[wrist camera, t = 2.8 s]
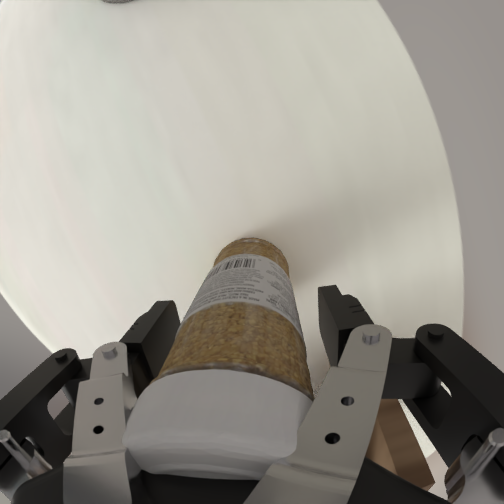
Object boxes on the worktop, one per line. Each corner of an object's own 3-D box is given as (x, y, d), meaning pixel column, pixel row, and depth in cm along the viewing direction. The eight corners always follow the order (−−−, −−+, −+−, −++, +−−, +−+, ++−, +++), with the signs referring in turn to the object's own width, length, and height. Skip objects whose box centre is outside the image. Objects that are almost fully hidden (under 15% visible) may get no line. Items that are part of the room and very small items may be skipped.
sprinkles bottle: (219, 309, 17) (154, 515, 4) (208, 238, 16) (67, 419, 3) (292, 304, 17) (326, 523, 4) (287, 231, 16) (359, 436, 3)
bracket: (201, 357, 18) (153, 509, 7) (376, 338, 17) (449, 476, 6) (227, 438, 21) (210, 550, 9) (361, 424, 20) (392, 531, 9)
